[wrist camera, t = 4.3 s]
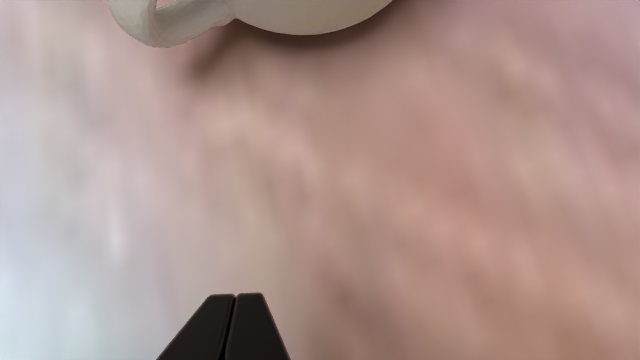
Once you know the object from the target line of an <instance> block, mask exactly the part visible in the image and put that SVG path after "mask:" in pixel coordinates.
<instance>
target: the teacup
mask: <svg viewBox="0 0 640 360" xmlns="http://www.w3.org/2000/svg"><path fill="white" fill-rule="evenodd" d="M391 1H392V0H176V1H174V2H173V3H171V4H169V5H166V6H164V7H161V8H157V9H156V3H157V0H108V2H109V8H110V11H111V13H112V16H113V18H114V19H115V21H116V22H117V24H118V25H119V26H120V27H121V28H122V29H123V30H124V31H125V32H126V33H128V34H129V35H131V36H132V37H134V38H135V39H137V40H138V41H140V42H142V43H144V44H146V45H149V46H152V47H157V48H168V47H172V46H176V45H180V44H183V43H185V42H187V41H189V40H191V39H193V38H195V37H197V36H199V35H200V34H202V33H204V32H205V31H207V30H209V29H210V28H212V27H214V26H225V25H226V24H228V23H229V22H231V21H232V20H233V19H236V18H238V19H240V20H241V21H243V22H245V23H248V24H250V25H253V26H255V27H258V28H261V29H264V30H268V31H272V32H276V33H284V34H293V35H315V34H323V33H328V32H334V31H337V30H341V29H344V28H347V27H349V26H352V25H355V24H357V23H360V22H361V21H363V20H365V19H367V18H369V17H371V16H373V15H374V14H375V13H377V12H378V11H380V10H381V9H382V8H384V7H385V6H387V5H388V4H389V3H390V2H391Z"/></svg>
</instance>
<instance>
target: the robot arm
mask: <svg viewBox="0 0 640 360" xmlns="http://www.w3.org/2000/svg"><path fill="white" fill-rule="evenodd" d="M156 360H291V359H290V357H289V355H288V352H287V350H286V347H285V345H284V343H283V340H282V338H281V336H280V333H279V331H278V329H277V326H276V324H275V322H274V319H273V317H272V314H271V312H270V310H269V307H268V305H267V303H266V300H265V298H264V296H263V294H261V293H240V294H238V295H237V296H235V295H233V294H214V295H210V296H209V297H207V298H206V300H205V301H204V302H203V303H202V305H201V306H200V307H199V308H198V309H197V311H196V312H195V313H194V314H193V315H192V317H191V318H190V319H189V320H188V322H187V323H186V324H185V325H184V326H183V328H182V329H181V330H180V331H179V332H178V334H177V335H176V336H175V337H174V339H173V340H172V341H171V342H170V343H169V345H168V346H167V347H166V348H165V350H164V351H163V352H162V353H161V354H160V356H159V357H158V358H157V359H156Z"/></svg>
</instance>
